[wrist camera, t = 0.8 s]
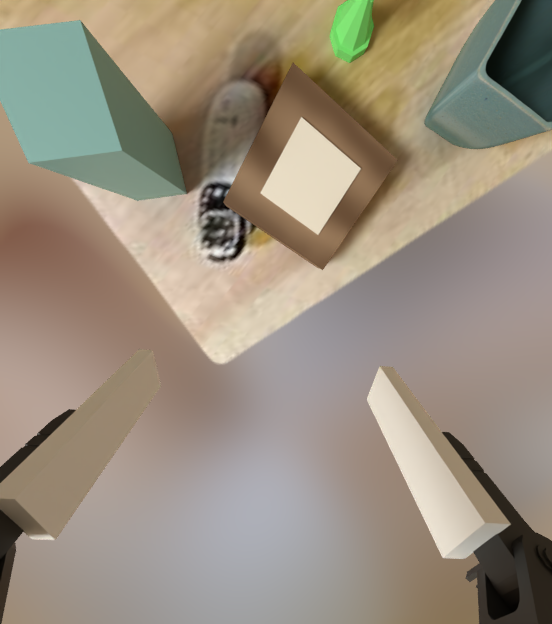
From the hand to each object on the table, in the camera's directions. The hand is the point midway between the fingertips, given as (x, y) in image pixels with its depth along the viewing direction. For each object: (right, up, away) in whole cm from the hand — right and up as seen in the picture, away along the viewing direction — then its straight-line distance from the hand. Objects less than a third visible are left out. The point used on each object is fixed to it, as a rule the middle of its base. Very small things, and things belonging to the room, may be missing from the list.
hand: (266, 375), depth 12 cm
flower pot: (+21, +27, +12) cm, 37 cm away
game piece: (+8, +33, +9) cm, 35 cm away
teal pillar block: (-14, +21, +11) cm, 27 cm away
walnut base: (+4, +19, +13) cm, 24 cm away
